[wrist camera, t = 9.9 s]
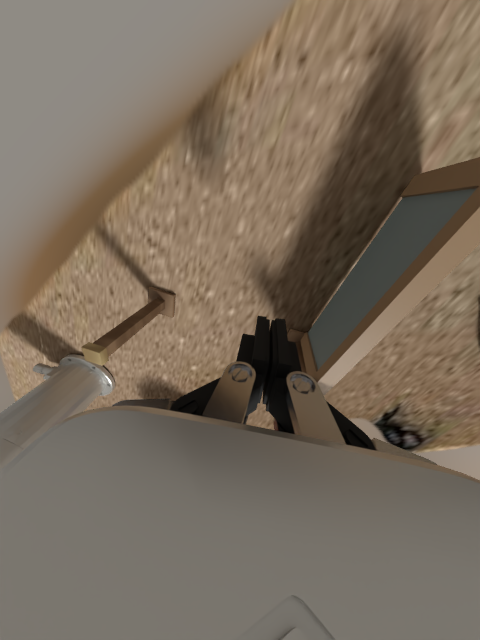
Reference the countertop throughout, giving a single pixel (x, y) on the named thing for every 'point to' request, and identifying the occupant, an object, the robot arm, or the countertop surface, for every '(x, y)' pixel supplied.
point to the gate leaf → (397, 269)
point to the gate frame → (157, 305)
